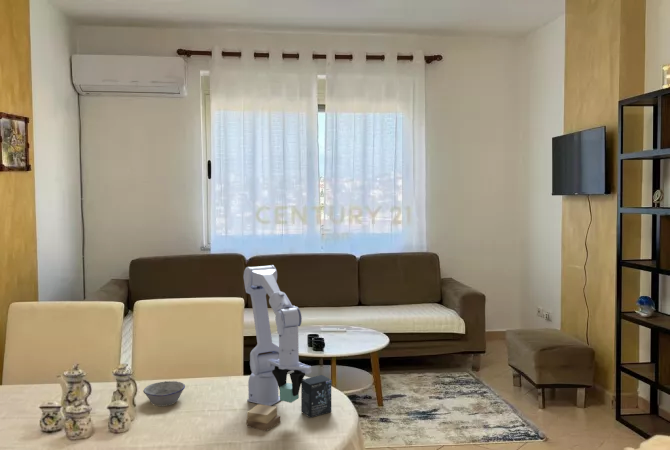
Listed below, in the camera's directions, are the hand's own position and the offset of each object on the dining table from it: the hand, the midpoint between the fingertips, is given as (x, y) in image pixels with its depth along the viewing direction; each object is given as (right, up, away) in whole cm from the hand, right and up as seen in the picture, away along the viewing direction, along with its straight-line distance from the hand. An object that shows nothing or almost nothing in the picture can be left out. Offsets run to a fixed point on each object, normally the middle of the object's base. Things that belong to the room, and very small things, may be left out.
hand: (289, 393), depth 171 cm
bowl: (-42, -8, +18) cm, 46 cm away
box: (+8, -8, +8) cm, 14 cm away
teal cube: (0, -2, 0) cm, 2 cm away
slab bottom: (-8, -9, -1) cm, 12 cm away
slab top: (-8, -7, -1) cm, 10 cm away
